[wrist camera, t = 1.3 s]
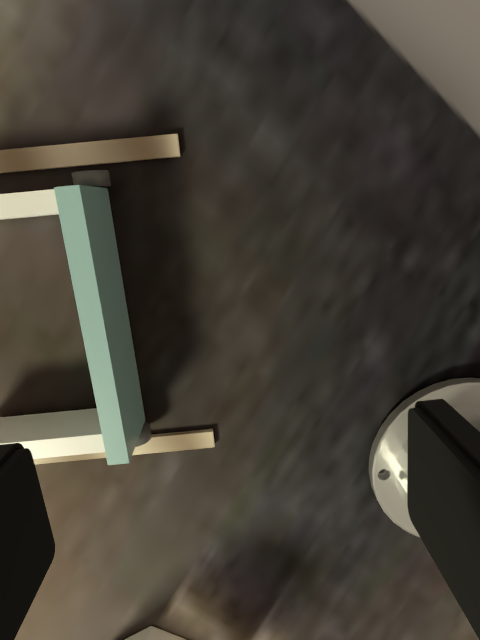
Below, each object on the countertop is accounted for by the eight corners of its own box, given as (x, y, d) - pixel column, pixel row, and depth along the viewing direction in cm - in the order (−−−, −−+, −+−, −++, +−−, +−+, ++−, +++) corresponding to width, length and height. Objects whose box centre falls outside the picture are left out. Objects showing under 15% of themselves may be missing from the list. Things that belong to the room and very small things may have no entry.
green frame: (112, 171, 25) (84, 163, 20) (153, 429, 30) (138, 476, 25) (-70, 188, 25) (-144, 184, 20) (-1, 444, 30) (-48, 494, 25)
